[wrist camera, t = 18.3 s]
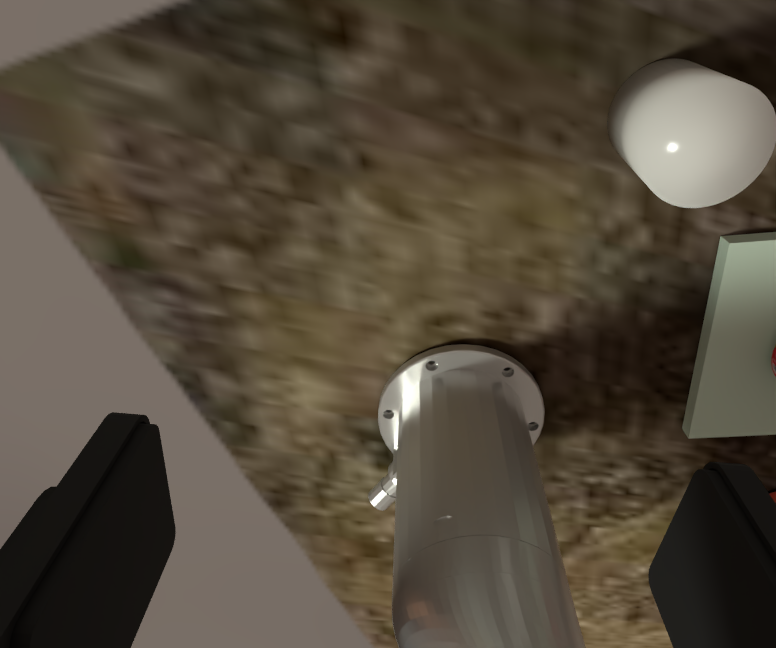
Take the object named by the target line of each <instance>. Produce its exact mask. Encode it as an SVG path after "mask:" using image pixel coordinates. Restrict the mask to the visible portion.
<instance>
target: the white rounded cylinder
mask: <svg viewBox="0 0 776 648" xmlns="http://www.w3.org/2000/svg"><path fill="white" fill-rule="evenodd" d="M607 129H608V135H609V138H610V141H611V144H612V146H613V147H614V149H615V150H616V152H617V153H618V154H619V155H620V156H621V157H622V158H623V159H624V161H625V162H626V163H627V164H628V165H629V166H630V167H631V168H632V169H633V171H634V172H635V173H636V174H637V175H638V176H639V177H640V178H641V179H642V180H643V182H644V183H645V184H646V185H647V186H648V187H649V188H650V189H651V190H652V191H653V193H654V194H655V195H656V196H658V197H659V198H660V199H662V200H663V201H665V202H667V203H669V204H672V205H675V206H679V207H684V208H701V207H707V206H711V205H715V204H718V203H720V202H723V201H725V200H727V199H729V198H731V197H733V196H735V195H736V194H738V193H740V192H741V191H742V190H744V189H745V188H746V187H747V186H749V185H750V184H751V183H752V182H753V181H754V180H755V179H756V178H757V176H758V175H759V174H760V173H761V172H762V170H763V169H764V167H765V166H766V164H767V162H768V161H769V159H770V157H771V155H772V152H773V150H774V146H775V143H776V114H775V111H774V108H773V106H772V105H771V103H770V101H769V100H768V98H767V97H766V96H765V95H764V94H763V93H762V92H761V91H760V90H758V89H757V88H755V87H753V86H752V85H749V84H747V83H744V82H742V81H739V80H737V79H734V78H732V77H729V76H727V75H724V74H722V73H719V72H716V71H714V70H711V69H709V68H706V67H704V66H701V65H699V64H696V63H694V62H691V61H689V60H684V59H676V58H673V59H664V60H659V61H656V62H653V63H651V64H649V65H646V66H644V67H643V68H641V69H639V70H638V71H637V72H635V73H634V74H633V75H631V76H630V77H629V78H628V79H627V80H626V81H625V82H624V84H623V85H622V86H621V87H620V89H619V90H618V92H617V93H616V95H615V97H614V99H613V101H612V103H611V106H610V109H609V113H608V120H607Z"/></svg>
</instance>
